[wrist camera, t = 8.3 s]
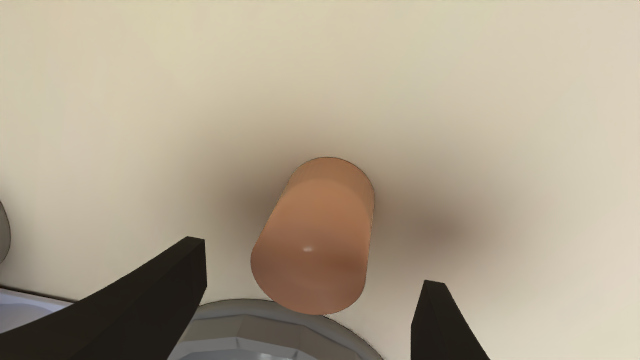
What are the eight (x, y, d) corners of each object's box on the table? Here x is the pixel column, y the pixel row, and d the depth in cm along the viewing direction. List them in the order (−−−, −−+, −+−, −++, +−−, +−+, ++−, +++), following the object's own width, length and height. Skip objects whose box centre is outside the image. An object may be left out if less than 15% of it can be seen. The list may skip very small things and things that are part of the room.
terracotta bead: (289, 230, 19) (256, 308, 15) (283, 154, 17) (244, 218, 13) (373, 237, 18) (364, 321, 14) (376, 159, 16) (367, 228, 12)
